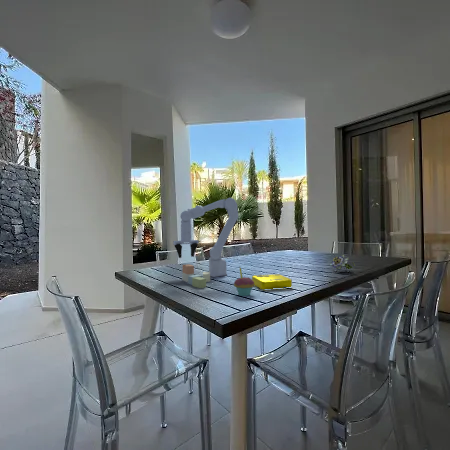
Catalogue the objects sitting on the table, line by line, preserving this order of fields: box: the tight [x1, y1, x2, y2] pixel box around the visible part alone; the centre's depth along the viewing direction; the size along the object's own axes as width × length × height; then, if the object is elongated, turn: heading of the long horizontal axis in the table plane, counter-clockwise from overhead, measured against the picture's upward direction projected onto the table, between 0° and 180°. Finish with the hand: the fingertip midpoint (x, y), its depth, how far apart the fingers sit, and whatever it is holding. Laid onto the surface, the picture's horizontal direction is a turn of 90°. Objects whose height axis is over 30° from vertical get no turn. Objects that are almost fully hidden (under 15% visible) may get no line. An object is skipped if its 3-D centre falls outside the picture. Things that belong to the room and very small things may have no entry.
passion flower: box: [329, 254, 356, 270], centre depth 174 cm, size 11×11×12 cm
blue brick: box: [187, 274, 203, 286], centre depth 144 cm, size 6×4×4 cm, turn 135°
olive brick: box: [191, 277, 207, 289], centre depth 138 cm, size 6×4×4 cm, turn 42°
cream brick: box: [202, 271, 211, 283], centre depth 151 cm, size 6×4×4 cm, turn 5°
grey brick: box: [181, 272, 195, 283], centre depth 150 cm, size 6×4×4 cm, turn 33°
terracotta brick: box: [182, 263, 195, 275], centre depth 150 cm, size 6×4×4 cm, turn 33°
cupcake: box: [233, 267, 255, 297], centre depth 123 cm, size 9×8×12 cm
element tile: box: [251, 273, 293, 290], centre depth 138 cm, size 15×15×5 cm
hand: (186, 257), depth 163 cm, fingers open, 7 cm apart
